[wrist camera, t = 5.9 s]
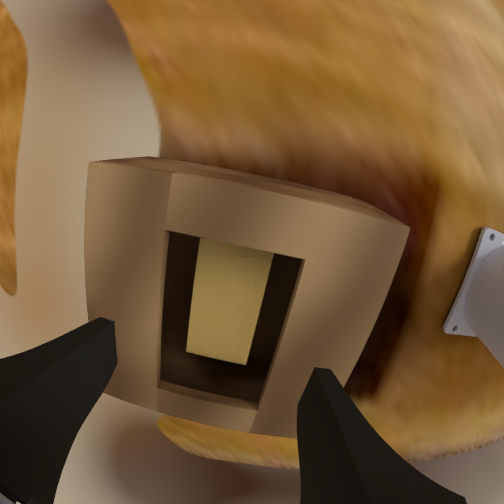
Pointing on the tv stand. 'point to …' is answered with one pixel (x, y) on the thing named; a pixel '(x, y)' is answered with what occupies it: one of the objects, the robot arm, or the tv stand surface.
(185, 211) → the box
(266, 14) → the tv stand surface
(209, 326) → the block
